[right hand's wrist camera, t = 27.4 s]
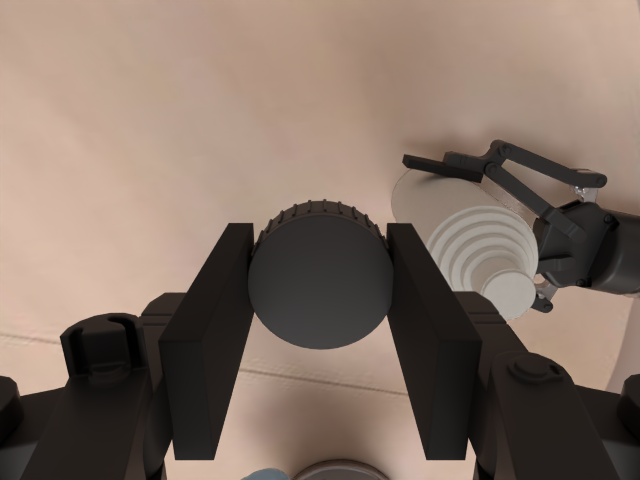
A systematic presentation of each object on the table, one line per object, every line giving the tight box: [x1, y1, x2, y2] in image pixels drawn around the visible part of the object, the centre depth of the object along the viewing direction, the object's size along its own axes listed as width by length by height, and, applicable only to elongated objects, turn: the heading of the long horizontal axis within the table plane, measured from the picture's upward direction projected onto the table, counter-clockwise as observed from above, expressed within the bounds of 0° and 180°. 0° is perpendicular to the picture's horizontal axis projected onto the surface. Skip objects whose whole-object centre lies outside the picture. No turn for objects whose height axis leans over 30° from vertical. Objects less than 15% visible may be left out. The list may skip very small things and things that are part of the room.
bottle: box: [391, 169, 538, 320], centre depth 36 cm, size 8×8×22 cm
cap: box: [247, 199, 394, 349], centre depth 14 cm, size 4×4×2 cm
